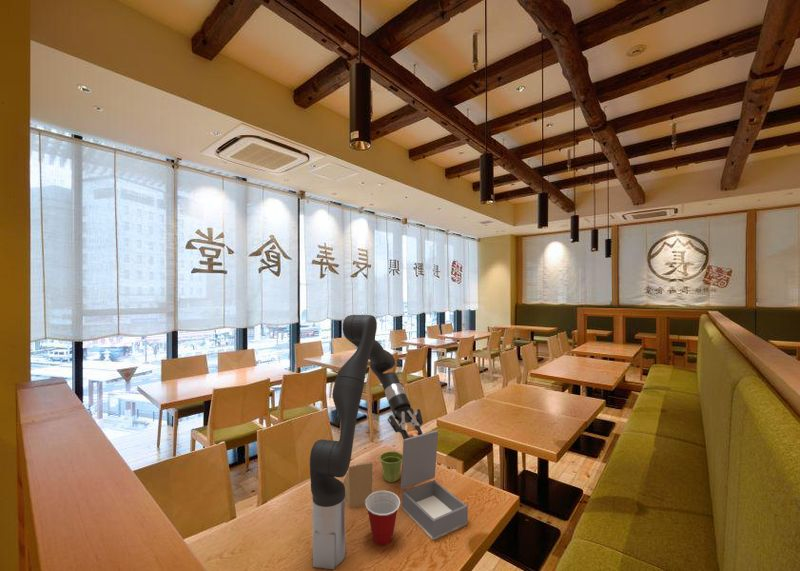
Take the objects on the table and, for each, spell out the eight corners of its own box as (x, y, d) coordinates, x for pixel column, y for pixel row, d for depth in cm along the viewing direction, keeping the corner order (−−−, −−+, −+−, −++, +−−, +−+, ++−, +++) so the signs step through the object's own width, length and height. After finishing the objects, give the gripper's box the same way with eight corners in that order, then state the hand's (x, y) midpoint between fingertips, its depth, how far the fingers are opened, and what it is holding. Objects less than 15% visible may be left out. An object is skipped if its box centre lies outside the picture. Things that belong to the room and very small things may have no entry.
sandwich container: (362, 481, 143) (362, 443, 143) (373, 504, 129) (373, 462, 129) (341, 485, 140) (341, 447, 140) (349, 509, 126) (349, 466, 126)
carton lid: (438, 431, 131) (426, 422, 137) (404, 440, 124) (394, 431, 129) (434, 477, 133) (423, 467, 139) (401, 489, 126) (391, 477, 131)
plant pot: (402, 485, 140) (402, 463, 140) (378, 484, 141) (378, 462, 141) (403, 472, 150) (403, 451, 150) (380, 471, 150) (380, 451, 150)
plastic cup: (368, 555, 105) (368, 514, 104) (362, 530, 115) (362, 493, 115) (404, 548, 107) (404, 508, 107) (395, 524, 118) (395, 488, 118)
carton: (467, 524, 118) (467, 506, 118) (433, 540, 111) (433, 521, 110) (434, 496, 133) (434, 480, 133) (402, 508, 126) (402, 491, 126)
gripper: (384, 395, 136) (401, 439, 125) (415, 389, 143) (434, 430, 133) (377, 406, 140) (393, 448, 130) (408, 399, 148) (426, 439, 137)
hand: (414, 439), depth 131 cm, fingers closed on carton lid, 5 cm apart
